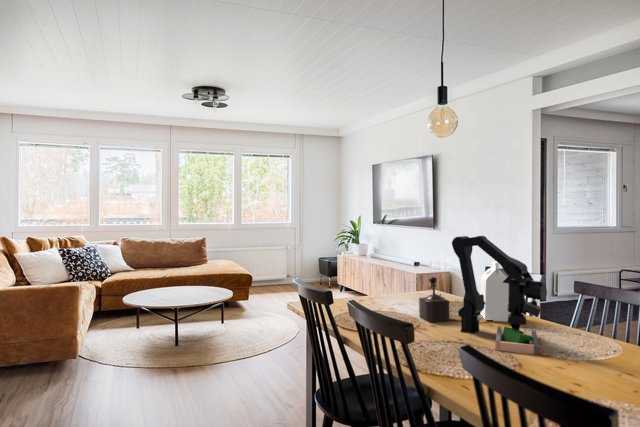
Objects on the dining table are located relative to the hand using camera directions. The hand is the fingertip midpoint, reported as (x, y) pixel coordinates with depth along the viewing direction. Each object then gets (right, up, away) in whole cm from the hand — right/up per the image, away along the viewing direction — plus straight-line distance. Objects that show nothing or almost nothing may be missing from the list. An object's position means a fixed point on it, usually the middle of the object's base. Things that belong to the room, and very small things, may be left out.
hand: (516, 334), depth 176 cm
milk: (+5, -2, +35) cm, 35 cm away
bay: (-1, -2, -3) cm, 4 cm away
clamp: (-3, -2, -7) cm, 8 cm away
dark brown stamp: (-24, -2, +35) cm, 43 cm away
